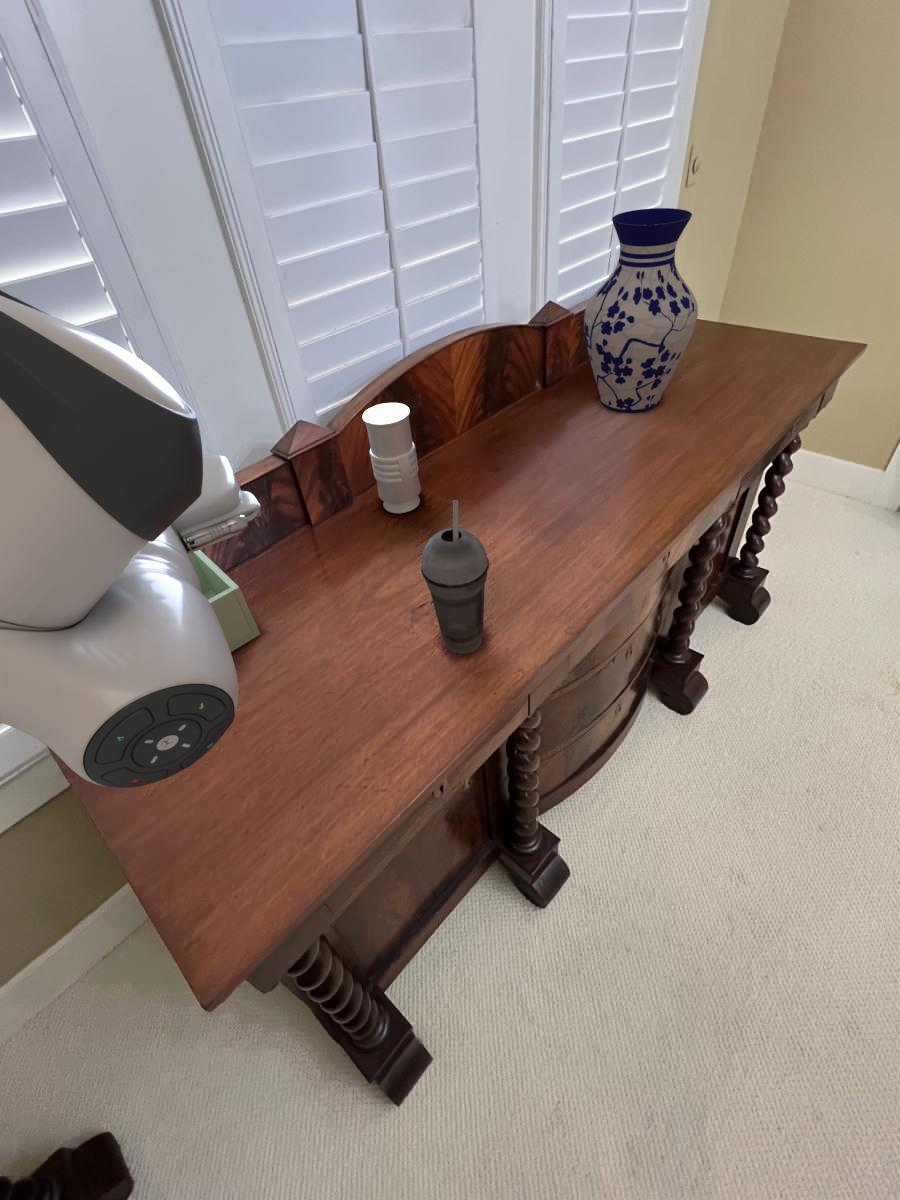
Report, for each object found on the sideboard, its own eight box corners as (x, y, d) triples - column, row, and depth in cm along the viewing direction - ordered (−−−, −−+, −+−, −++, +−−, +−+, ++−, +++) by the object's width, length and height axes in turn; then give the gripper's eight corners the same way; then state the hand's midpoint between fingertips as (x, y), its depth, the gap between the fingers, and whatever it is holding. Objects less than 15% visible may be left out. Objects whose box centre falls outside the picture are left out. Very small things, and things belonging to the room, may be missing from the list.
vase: (583, 379, 121) (595, 207, 101) (681, 380, 116) (713, 200, 96) (573, 421, 108) (583, 233, 87) (682, 424, 103) (720, 226, 83)
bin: (165, 692, 68) (133, 645, 62) (127, 639, 75) (96, 593, 70) (260, 634, 74) (239, 587, 68) (216, 590, 81) (194, 544, 76)
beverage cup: (464, 609, 73) (449, 469, 60) (506, 638, 69) (500, 494, 56) (420, 641, 70) (394, 500, 57) (462, 673, 66) (444, 528, 52)
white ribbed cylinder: (393, 520, 89) (375, 429, 79) (372, 501, 94) (353, 412, 84) (431, 504, 92) (419, 413, 82) (409, 486, 96) (395, 398, 86)
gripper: (254, 478, 40) (205, 411, 49) (-93, 603, 33) (-75, 498, 42) (281, 551, 44) (231, 477, 53) (-21, 675, 37) (-19, 566, 46)
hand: (93, 487), depth 48 cm, fingers open, 8 cm apart
